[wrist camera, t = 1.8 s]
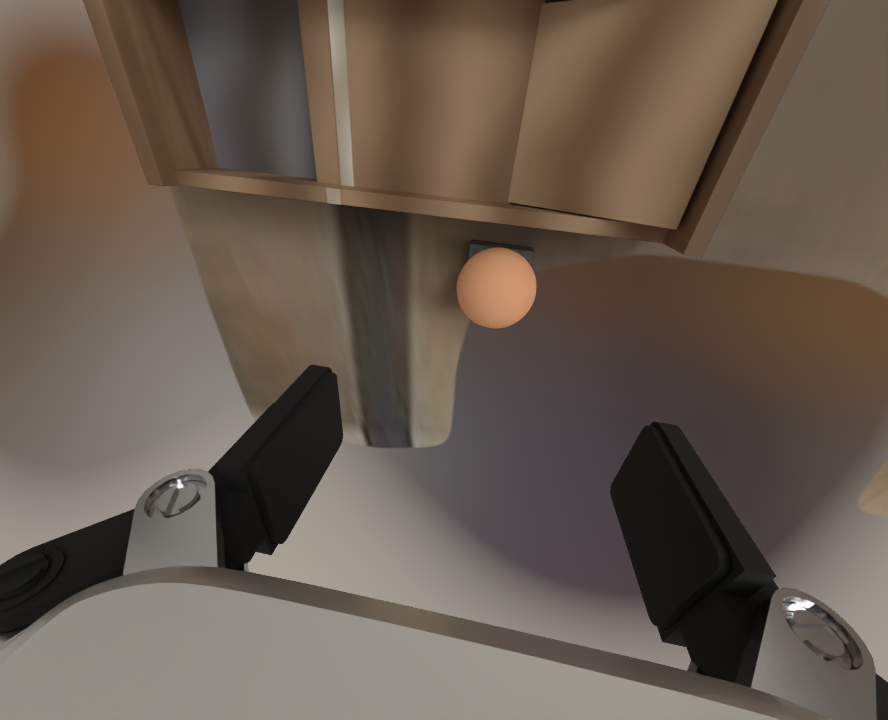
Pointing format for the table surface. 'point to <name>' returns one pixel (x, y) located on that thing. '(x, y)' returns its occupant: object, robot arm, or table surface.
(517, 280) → the ball
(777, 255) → the table surface
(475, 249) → the grey square frame
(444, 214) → the lane
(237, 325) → the table surface
